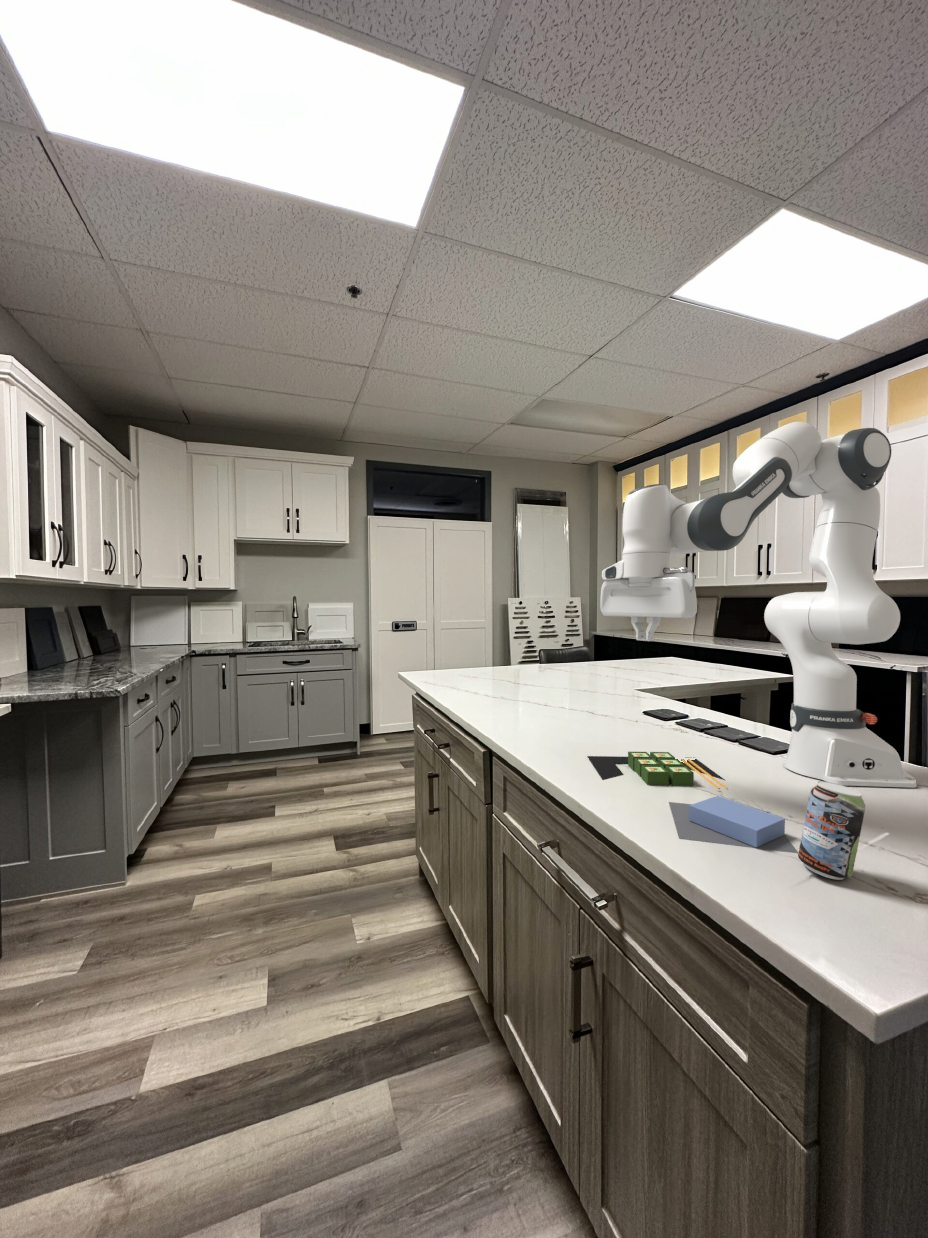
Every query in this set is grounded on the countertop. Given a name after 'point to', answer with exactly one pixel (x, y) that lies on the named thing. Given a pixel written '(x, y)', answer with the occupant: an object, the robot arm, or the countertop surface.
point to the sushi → (654, 768)
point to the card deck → (737, 820)
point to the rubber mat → (704, 834)
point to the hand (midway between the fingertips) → (645, 640)
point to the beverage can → (832, 830)
